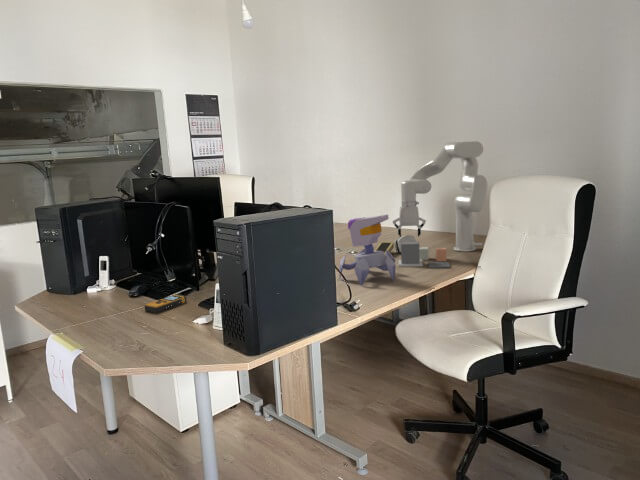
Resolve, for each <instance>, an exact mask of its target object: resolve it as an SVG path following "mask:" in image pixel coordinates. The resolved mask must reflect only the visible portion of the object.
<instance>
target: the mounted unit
mask: <svg viewBox="0 0 640 480" xmlns="http://www.w3.org/2000/svg"><path fill="white" fill-rule="evenodd" d="M419 247H420V242H419V241H416V242H401V252H400V254H401V256H400V257H401V258H400V259H398V261H397V262H398V267H399V268H401V267H402V268H403V267H404V268H405V267H406V268H408V267H413V268H415V267H424V265H423V264H424V263H423V260H420V256H419Z"/></svg>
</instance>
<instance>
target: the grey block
mask: <svg viewBox="0 0 640 480" xmlns="http://www.w3.org/2000/svg"><path fill="white" fill-rule="evenodd" d="M419 256H420V260H422V261H429V247H428V246H423V247H422V246H421V247H420V246H419Z"/></svg>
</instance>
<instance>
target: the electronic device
mask: <svg viewBox="0 0 640 480" xmlns="http://www.w3.org/2000/svg"><path fill="white" fill-rule="evenodd" d="M183 300H185V301H183ZM181 301H182V302H181ZM179 302H180V303H179ZM185 303H187V296H185V295H182V294H176V293H175V295H174V294H172V296H171V295H169V296H166V297H163V298H160V299H158V300H154V301H152V302H148V303H146V304H144V310H145V312H149V313H153V314H158V313H162V312H164V311H167V310H169V309H172V308H175V307H177V306H180V305H182V304H185ZM171 305H172V306H171ZM168 306H169V307H168ZM166 307H167V308H166Z"/></svg>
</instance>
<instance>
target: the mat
mask: <svg viewBox="0 0 640 480" xmlns="http://www.w3.org/2000/svg"><path fill="white" fill-rule="evenodd" d="M427 263H428V268H429V269H451V265H450V262H449V261H428V262H427Z"/></svg>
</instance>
